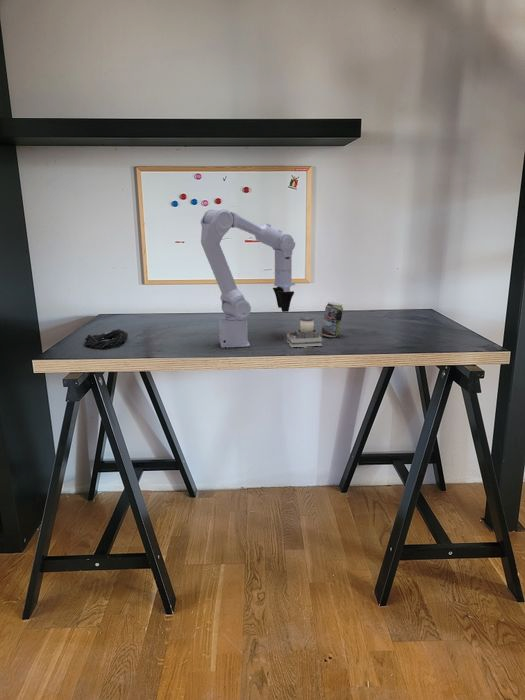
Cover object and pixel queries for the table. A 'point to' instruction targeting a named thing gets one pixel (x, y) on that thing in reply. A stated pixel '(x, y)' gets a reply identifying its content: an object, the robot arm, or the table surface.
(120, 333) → the cable
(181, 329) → the table surface
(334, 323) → the beverage can
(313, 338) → the square housing with collar
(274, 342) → the table surface
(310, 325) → the lens
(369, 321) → the table surface
